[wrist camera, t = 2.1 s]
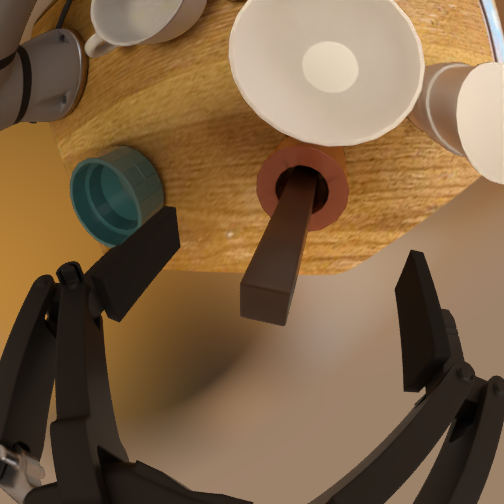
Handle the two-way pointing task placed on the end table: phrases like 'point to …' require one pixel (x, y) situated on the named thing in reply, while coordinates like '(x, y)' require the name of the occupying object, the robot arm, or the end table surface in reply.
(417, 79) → the cup
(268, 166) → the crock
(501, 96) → the white ribbed cylinder
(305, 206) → the stick
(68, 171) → the end table surface
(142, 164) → the bowl
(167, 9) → the teacup
